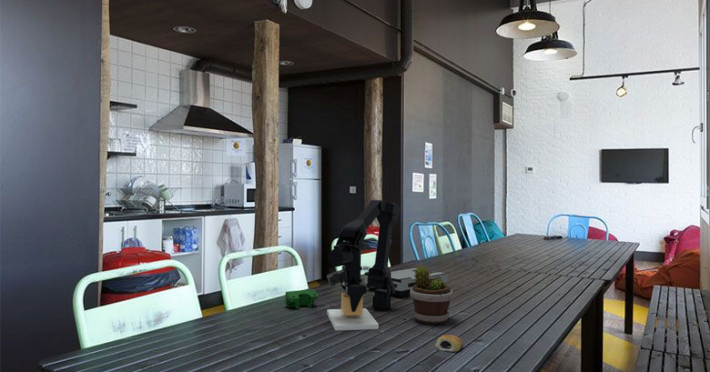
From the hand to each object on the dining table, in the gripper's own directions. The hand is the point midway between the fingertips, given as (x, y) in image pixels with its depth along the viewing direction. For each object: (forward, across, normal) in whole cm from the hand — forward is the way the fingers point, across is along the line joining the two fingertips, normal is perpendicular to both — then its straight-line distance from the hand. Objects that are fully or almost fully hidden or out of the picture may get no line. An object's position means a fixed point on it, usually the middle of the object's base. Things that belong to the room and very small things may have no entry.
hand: (351, 309), depth 168 cm
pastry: (+4, +30, +23) cm, 38 cm away
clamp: (+4, -21, -15) cm, 26 cm away
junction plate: (+4, 0, 0) cm, 4 cm away
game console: (+5, -46, +33) cm, 56 cm away
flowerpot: (+4, +3, +27) cm, 28 cm away
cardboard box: (+1, 0, 0) cm, 1 cm away
